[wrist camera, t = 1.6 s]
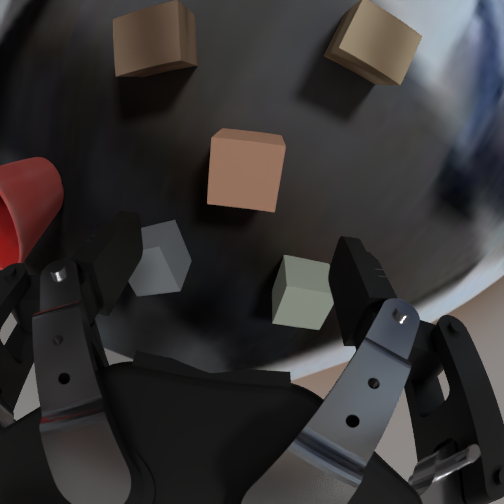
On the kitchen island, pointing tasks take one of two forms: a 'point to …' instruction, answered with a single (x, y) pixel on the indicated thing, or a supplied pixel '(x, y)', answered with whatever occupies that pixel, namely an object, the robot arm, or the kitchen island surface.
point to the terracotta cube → (245, 169)
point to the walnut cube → (154, 40)
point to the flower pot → (26, 206)
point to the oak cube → (373, 44)
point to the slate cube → (161, 261)
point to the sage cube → (301, 293)
